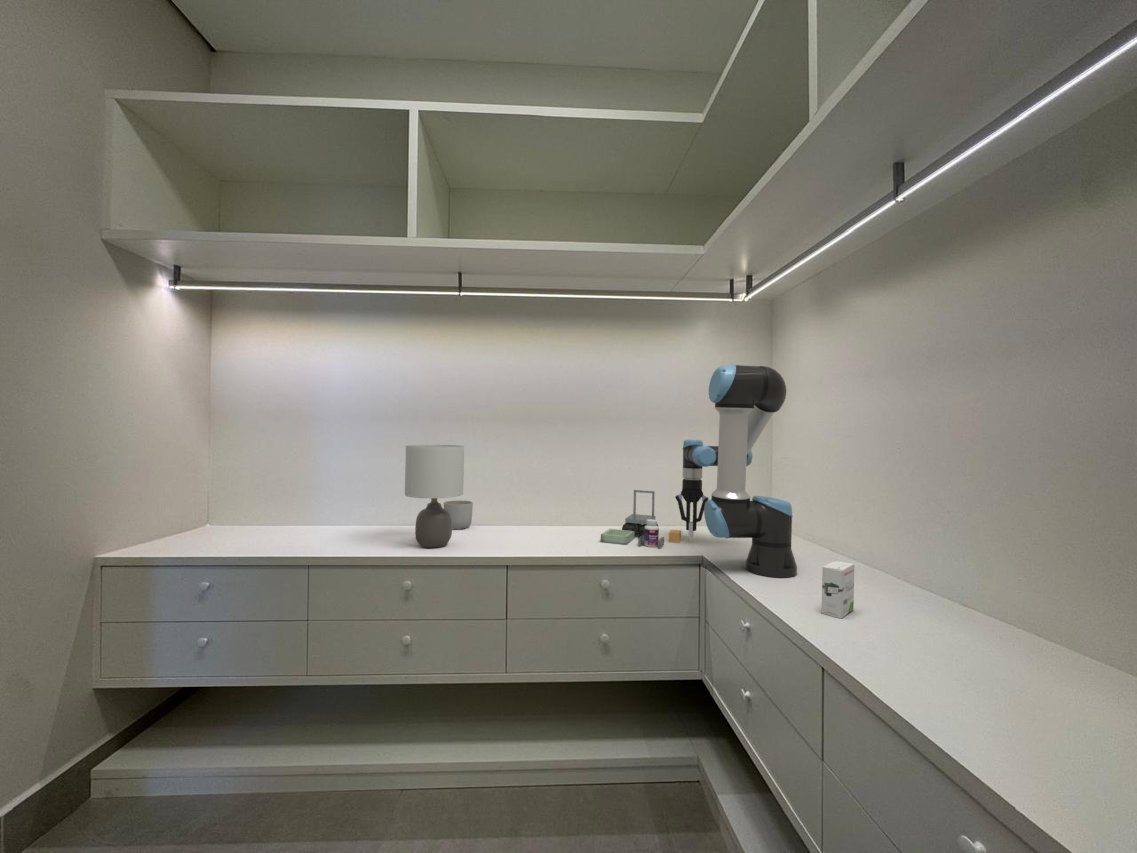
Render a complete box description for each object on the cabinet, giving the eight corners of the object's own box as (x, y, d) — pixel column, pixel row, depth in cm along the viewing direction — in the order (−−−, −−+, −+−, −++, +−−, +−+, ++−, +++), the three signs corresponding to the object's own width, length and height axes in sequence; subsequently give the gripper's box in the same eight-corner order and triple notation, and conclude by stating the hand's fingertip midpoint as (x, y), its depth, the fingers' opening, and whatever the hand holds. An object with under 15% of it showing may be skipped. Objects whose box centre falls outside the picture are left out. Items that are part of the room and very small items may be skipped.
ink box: (833, 605, 128) (834, 559, 128) (854, 610, 125) (855, 563, 125) (820, 613, 122) (821, 565, 122) (842, 619, 119) (843, 569, 119)
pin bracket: (660, 548, 185) (660, 540, 185) (638, 546, 188) (638, 538, 188) (664, 544, 192) (664, 537, 192) (642, 542, 195) (642, 534, 195)
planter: (476, 525, 221) (477, 501, 221) (464, 531, 209) (465, 505, 209) (451, 524, 224) (451, 499, 224) (437, 529, 212) (438, 503, 212)
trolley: (652, 539, 200) (653, 494, 200) (621, 536, 205) (622, 492, 205) (658, 534, 211) (659, 491, 211) (628, 531, 216) (629, 489, 216)
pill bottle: (649, 547, 186) (649, 521, 186) (641, 544, 191) (641, 519, 191) (661, 546, 189) (661, 521, 189) (653, 543, 193) (653, 518, 193)
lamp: (453, 553, 172) (455, 447, 172) (394, 551, 173) (396, 446, 173) (468, 540, 193) (470, 445, 193) (415, 538, 194) (417, 444, 194)
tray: (626, 544, 190) (626, 537, 190) (600, 542, 194) (600, 534, 194) (634, 538, 202) (634, 531, 202) (609, 535, 205) (609, 528, 206)
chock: (679, 543, 195) (679, 533, 195) (668, 542, 196) (669, 532, 196) (681, 540, 201) (681, 530, 201) (671, 539, 202) (671, 529, 202)
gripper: (710, 478, 197) (709, 538, 197) (677, 477, 202) (675, 535, 202) (708, 480, 190) (707, 542, 191) (673, 478, 195) (672, 539, 195)
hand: (691, 538), depth 196 cm, fingers closed
